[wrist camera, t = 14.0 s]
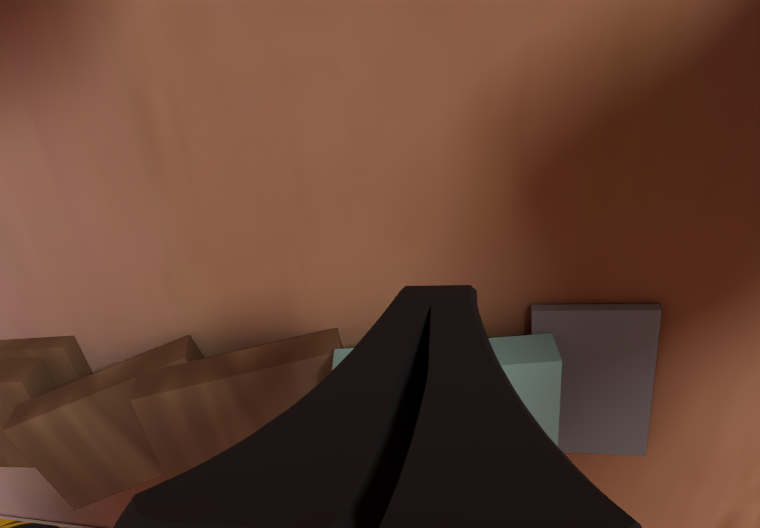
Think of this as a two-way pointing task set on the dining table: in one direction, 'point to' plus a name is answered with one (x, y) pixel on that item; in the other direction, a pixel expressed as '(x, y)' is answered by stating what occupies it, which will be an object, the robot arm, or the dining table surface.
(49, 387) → the domino
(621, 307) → the slot pad
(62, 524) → the medicine bottle
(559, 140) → the dining table surface
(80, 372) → the domino
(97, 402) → the domino
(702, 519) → the dining table surface
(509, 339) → the teal tile
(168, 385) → the domino
